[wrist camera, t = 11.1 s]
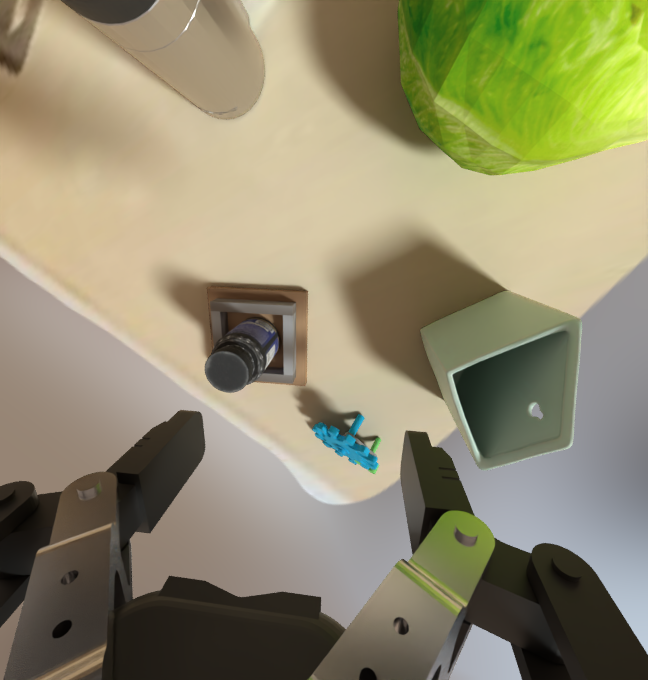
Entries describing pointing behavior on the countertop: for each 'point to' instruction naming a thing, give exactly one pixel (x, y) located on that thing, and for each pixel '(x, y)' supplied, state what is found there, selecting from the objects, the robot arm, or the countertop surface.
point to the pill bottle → (242, 354)
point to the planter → (507, 376)
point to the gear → (349, 444)
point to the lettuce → (525, 78)
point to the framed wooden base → (277, 308)
